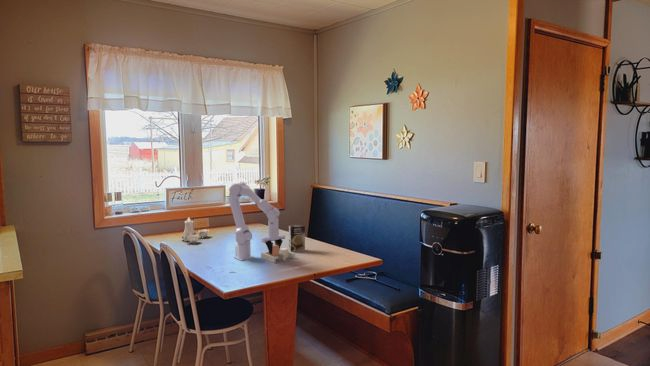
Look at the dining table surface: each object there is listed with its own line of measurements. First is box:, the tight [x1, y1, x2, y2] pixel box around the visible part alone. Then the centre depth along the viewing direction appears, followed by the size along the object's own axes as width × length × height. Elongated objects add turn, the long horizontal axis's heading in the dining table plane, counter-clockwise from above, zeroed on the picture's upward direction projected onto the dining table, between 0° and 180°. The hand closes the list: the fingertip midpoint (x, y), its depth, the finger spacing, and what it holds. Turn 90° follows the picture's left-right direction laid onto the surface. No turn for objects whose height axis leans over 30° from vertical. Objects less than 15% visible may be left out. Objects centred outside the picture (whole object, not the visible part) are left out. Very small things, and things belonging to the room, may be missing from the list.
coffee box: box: [288, 224, 306, 253], centre depth 268 cm, size 9×6×16 cm
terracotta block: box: [269, 244, 279, 257], centre depth 248 cm, size 4×4×6 cm
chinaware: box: [181, 217, 210, 244], centre depth 302 cm, size 28×17×17 cm, turn 179°
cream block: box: [279, 247, 289, 258], centre depth 252 cm, size 4×4×5 cm
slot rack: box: [260, 250, 297, 264], centre depth 250 cm, size 16×15×4 cm
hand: (274, 253), depth 248 cm, fingers closed on terracotta block, 4 cm apart
